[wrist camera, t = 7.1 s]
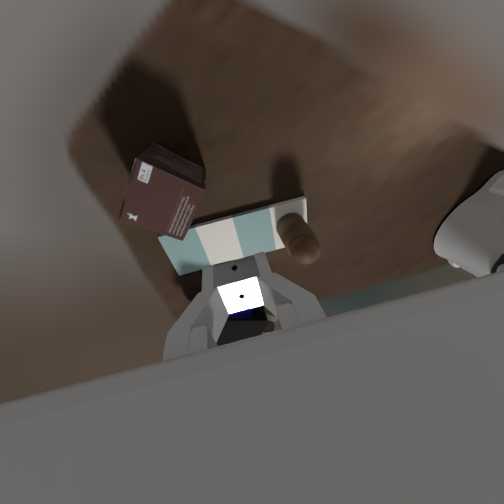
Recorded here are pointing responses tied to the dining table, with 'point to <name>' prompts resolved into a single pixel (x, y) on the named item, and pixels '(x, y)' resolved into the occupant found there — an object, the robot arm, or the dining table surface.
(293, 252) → the brown rounded cylinder
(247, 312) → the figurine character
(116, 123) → the dining table surface
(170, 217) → the box
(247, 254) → the board
